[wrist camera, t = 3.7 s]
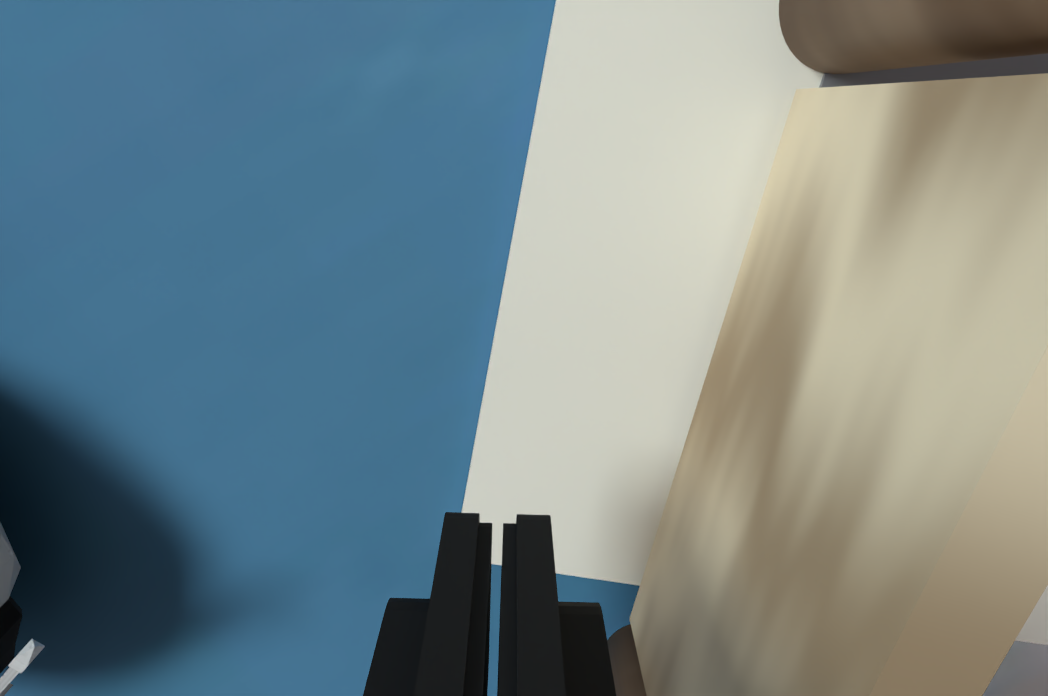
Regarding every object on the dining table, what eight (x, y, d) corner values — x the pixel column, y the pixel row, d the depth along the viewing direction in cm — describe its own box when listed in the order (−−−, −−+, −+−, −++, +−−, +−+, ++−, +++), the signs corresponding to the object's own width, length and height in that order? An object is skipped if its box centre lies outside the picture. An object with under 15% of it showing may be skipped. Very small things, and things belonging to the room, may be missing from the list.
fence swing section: (774, 85, 11) (1141, 52, 5) (881, 107, 11) (1383, 107, 5) (594, 678, 16) (648, 1073, 9) (671, 688, 16) (778, 1086, 10)
